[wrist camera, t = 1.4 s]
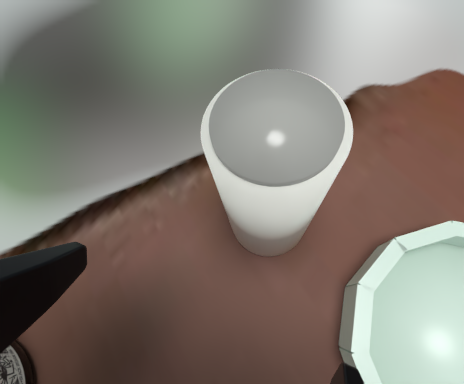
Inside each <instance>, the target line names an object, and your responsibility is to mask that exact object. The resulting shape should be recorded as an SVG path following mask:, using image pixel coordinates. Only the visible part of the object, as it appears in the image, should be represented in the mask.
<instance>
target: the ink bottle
mask: <svg viewBox="0 0 464 384" xmlns="http://www.w3.org/2000/svg"><path fill="white" fill-rule="evenodd" d="M0 384H34V380H33V373H32V369H31V365H30V362H29V360H28V357H27V355H26V353H25V352H24V350H23V349H22V348H21V346H20V345H19V344H18V343H16V342H15V341H14V342H13V343H12V344H11V345H10V346H9V347H7V348H6V349H5V350H4V351H3V352H2V353H1V354H0Z"/></svg>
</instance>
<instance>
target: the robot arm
mask: <svg viewBox="0 0 464 384" xmlns="http://www.w3.org/2000/svg"><path fill="white" fill-rule="evenodd" d="M86 265H87V248H86V246H85V245H82V244H80V243H78V242H72V243H67V244H63V245H59V246H55V247H50V248H46V249H42V250H38V251H33V252H29V253H25V254H21V255H17V256H12V257H8V258H4V259H0V354H1V353H2V352H3V351H4V350H5V349H6V348H7V347H9V346H10V345H11V344H12V343H13V342H14V341H15V340H16V339H17V338H18V337H19V336H20V335H21V334H22V333H24V332H25V331H26V330H27V329H28V328H29V327H30V326H31V325H32V324H33V323H34V322H35V321H36V320H37V319H38V318H40V317H41V316H42V315H43V314H44V313H45V312H46V311H47V310H48V309H49V308H50V307H51V306H52V305H53V304H54V303H55V302H56V301H57V300H58V299H59V298H60V297H61V295H62V294H63V293H64V292H65V291H66V290H67V289H68V288H69V286H70V285H71V284H72V283H73V282H74V281H75V280H76V279H77V278H78V276H79V275H80V274H81V273H82V272H83V271H84V269H85V268H86ZM330 384H365V383H364V381H363V379H362V377H361V375H360V373H359V371H358V369H357V368H356V367H354V366H351V365H349V364H347V363H345V362H343V363H341V364H340V366H339V367H338V369H337V371H336V373H335V374H334V376H333V378H332V380H331V383H330Z"/></svg>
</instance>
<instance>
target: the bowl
mask: <svg viewBox="0 0 464 384" xmlns="http://www.w3.org/2000/svg"><path fill="white" fill-rule="evenodd" d="M338 346H340V347H339V350H340V352H341V355H342V358H343V360H344V362H345V363H347V364H349V365H351V366H354V367H356V368H357V369H358V371H359V373H360V375H361V377H362V379H363V381H364V383H365V384H464V223H462V222H457V221H448V222H445V223H442V224H438V225H435V226H432V227H428V228H425V229H422V230H419V231H415V232H412V233H409V234H405V235H402V236H399V237H395V238H393V239H391V240H390V241H388V242H386V243H384V244H382V245H380V246H378V247H377V248H376V249H375V250H374V252H373V253H372V254H371V255H370V257H369V258H368V259H367V260H366V261H365V263H364V264H363V265H362V266H361V268H360V269H359V270H358V271H357V273H356V274H355V275H354V276H353V277H352V279H351V280H350V281H349V282H348V284H347V285H346V287H345V291H344V300H343V309H342V318H341V327H340V336H339V345H338Z"/></svg>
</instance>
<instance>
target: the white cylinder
mask: <svg viewBox="0 0 464 384" xmlns="http://www.w3.org/2000/svg"><path fill="white" fill-rule="evenodd" d="M352 140H353V126H352V120H351V116H350V113H349V111H348V109H347V107H346V105H345V103H344V102H343V100H342V99H341V98H340V96H339V95H338V94H337V93H336V92H335V91H334V90H333V89H332V88H331V87H329V86H328V85H327V84H325V83H324V82H323V81H321V80H319V79H317V78H315V77H313V76H310V75H308V74H305V73H302V72H298V71H293V70H286V69H269V70H261V71H257V72H253V73H250V74H247V75H244V76H242V77H240V78H238V79H236V80H234V81H232V82H231V83H229V84H228V85H226V86H225V87H224V88H223V89H221V90H220V91H219V93H217V94H216V95H215V97H214V98H213V99H212V101H211V102H210V104H209V105H208V107H207V109H206V111H205V114H204V116H203V120H202V124H201V142H202V147H203V150H204V153H205V156H206V159H207V161H208V164H209V167H210V170H211V172H212V175H213V178H214V181H215V183H216V186H217V189H218V191H219V194H220V197H221V200H222V202H223V205H224V208H225V210H226V213H227V216H228V219H229V221H230V224H231V227H232V230H233V232H234V235H235V237H236V239H237V240H238V241H239V243H240V244H241V245H242V246H243V247H244V248H245V249H247V250H248V251H250V252H252V253H254V254H257V255H260V256H266V257H272V256H278V255H282V254H284V253H286V252H288V251H290V250H291V249H293V248H294V247H295V246H296V245H297V244H298V242H299V241H300V239H301V238H302V236H303V234H304V232H305V231H306V229H307V227H308V225H309V224H310V222H311V220H312V218H313V217H314V215H315V213H316V211H317V209H318V208H319V206H320V204H321V202H322V201H323V199H324V197H325V195H326V194H327V192H328V190H329V188H330V187H331V185H332V183H333V181H334V180H335V178H336V176H337V174H338V172H339V171H340V169H341V167H342V165H343V164H344V162H345V160H346V158H347V157H348V154H349V152H350V149H351V145H352Z"/></svg>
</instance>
